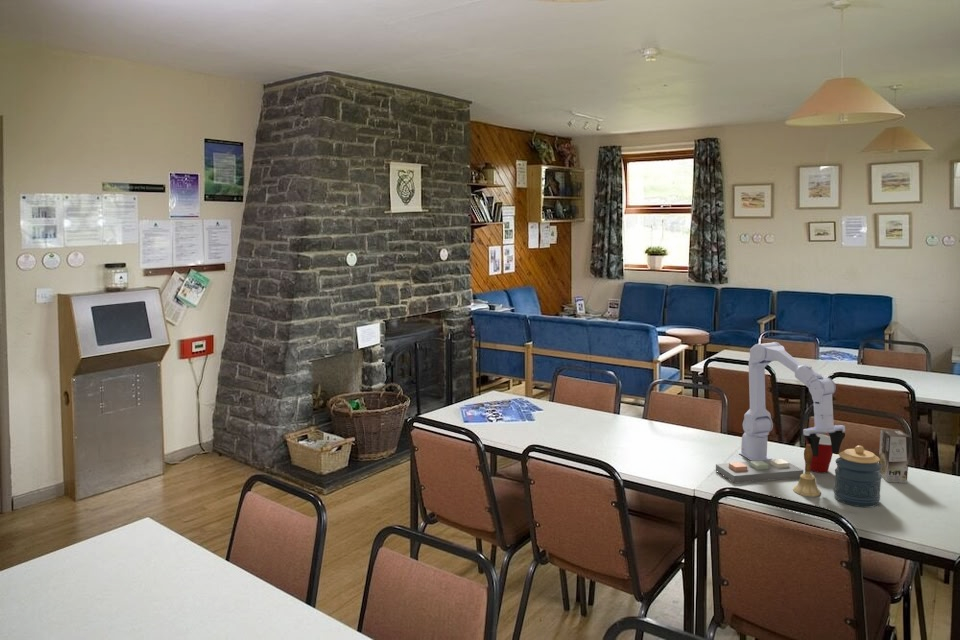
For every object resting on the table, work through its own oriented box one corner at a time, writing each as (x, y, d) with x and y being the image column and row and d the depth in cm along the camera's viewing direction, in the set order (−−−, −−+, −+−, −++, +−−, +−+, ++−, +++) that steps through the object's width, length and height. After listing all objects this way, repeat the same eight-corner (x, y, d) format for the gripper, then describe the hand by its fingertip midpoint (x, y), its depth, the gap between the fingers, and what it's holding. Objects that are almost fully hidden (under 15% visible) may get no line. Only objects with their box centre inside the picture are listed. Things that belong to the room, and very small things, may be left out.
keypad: (715, 470, 246) (715, 464, 246) (782, 465, 251) (782, 458, 250) (733, 483, 234) (734, 475, 234) (802, 477, 239) (803, 470, 239)
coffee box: (907, 483, 232) (911, 436, 230) (886, 482, 233) (890, 436, 231) (897, 474, 241) (900, 429, 239) (877, 472, 242) (880, 428, 240)
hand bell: (805, 498, 221) (807, 449, 219) (787, 488, 229) (789, 442, 227) (826, 495, 223) (829, 447, 221) (808, 486, 231) (810, 439, 229)
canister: (838, 488, 228) (841, 437, 226) (883, 498, 220) (887, 444, 218) (828, 501, 218) (832, 447, 216) (875, 511, 210) (879, 455, 208)
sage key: (749, 467, 244) (749, 461, 244) (761, 466, 245) (761, 460, 244) (756, 471, 240) (757, 465, 239) (768, 470, 240) (768, 464, 240)
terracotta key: (728, 469, 243) (728, 463, 242) (740, 468, 243) (740, 462, 243) (735, 473, 238) (735, 467, 238) (747, 472, 239) (747, 466, 239)
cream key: (770, 465, 245) (770, 459, 245) (781, 464, 246) (781, 458, 246) (777, 470, 241) (777, 463, 241) (789, 469, 242) (789, 463, 242)
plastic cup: (833, 477, 238) (835, 444, 236) (799, 471, 244) (801, 438, 243) (839, 468, 247) (841, 436, 245) (806, 463, 253) (808, 431, 251)
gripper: (812, 418, 226) (814, 459, 227) (851, 414, 229) (852, 454, 230) (798, 415, 233) (800, 455, 234) (836, 411, 236) (837, 450, 237)
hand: (825, 454), depth 232 cm, fingers open, 7 cm apart
